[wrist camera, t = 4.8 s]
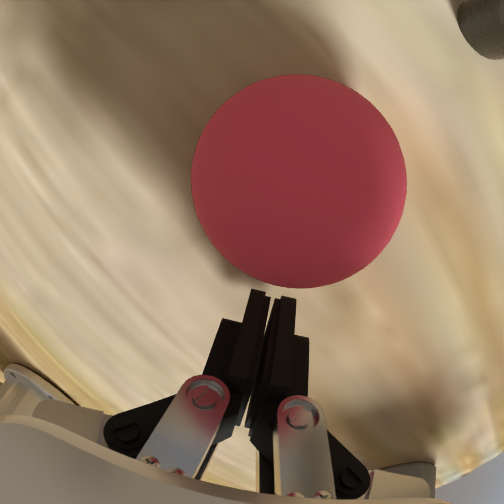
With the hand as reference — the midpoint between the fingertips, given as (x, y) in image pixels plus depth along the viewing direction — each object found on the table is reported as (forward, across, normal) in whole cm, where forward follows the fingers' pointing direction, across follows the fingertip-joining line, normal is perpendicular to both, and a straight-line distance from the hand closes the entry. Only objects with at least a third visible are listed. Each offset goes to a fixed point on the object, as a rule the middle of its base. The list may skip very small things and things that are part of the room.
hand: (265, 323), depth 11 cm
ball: (-1, 0, -6) cm, 6 cm away
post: (+2, -6, -13) cm, 15 cm away
